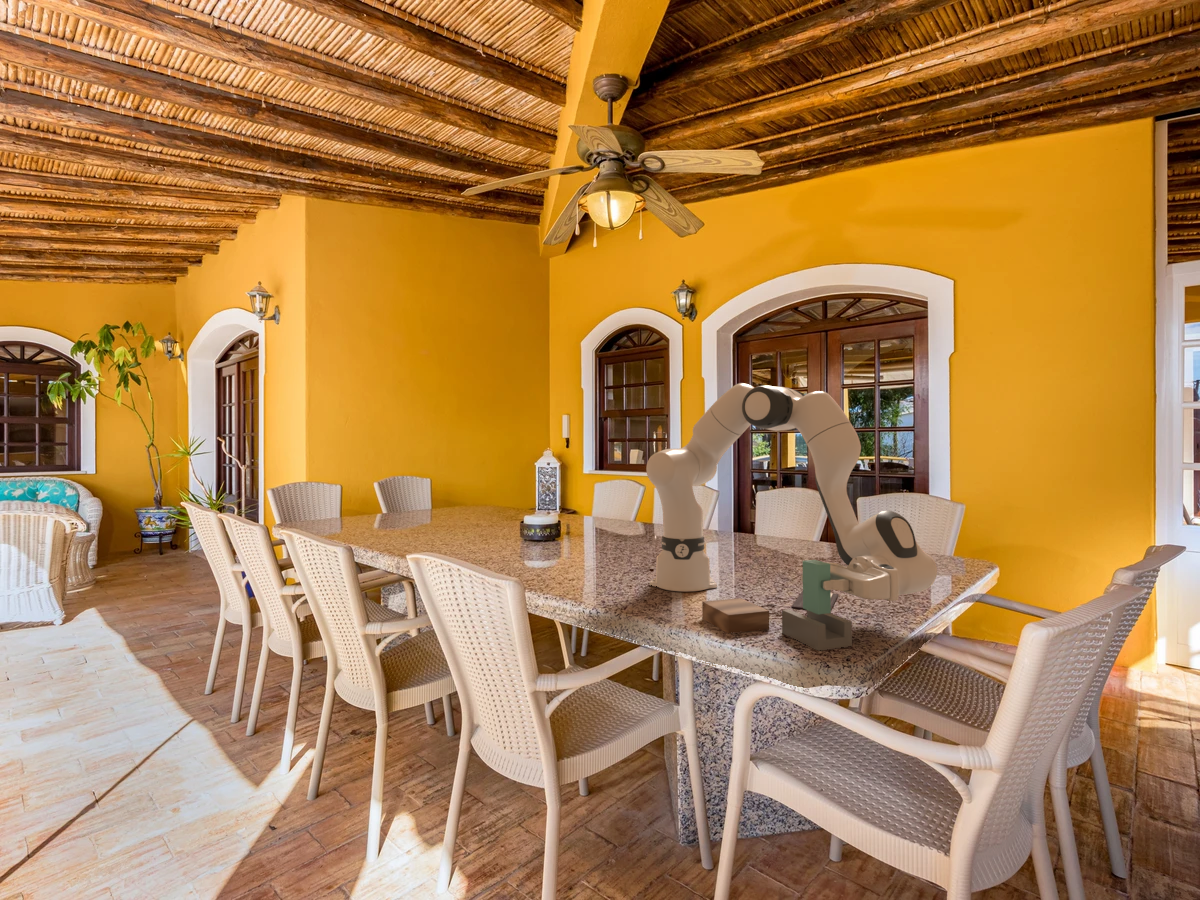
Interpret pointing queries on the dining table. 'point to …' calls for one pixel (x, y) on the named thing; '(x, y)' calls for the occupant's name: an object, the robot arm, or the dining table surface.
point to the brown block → (735, 615)
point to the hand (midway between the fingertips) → (812, 581)
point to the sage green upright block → (816, 587)
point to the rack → (817, 629)
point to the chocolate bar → (799, 601)
